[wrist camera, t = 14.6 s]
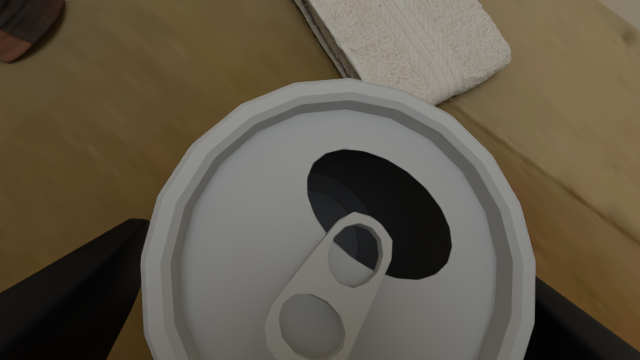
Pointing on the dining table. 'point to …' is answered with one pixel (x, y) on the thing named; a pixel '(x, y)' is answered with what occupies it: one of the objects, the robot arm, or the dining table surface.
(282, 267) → the can
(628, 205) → the dining table surface
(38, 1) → the pottery mug
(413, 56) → the washcloth
